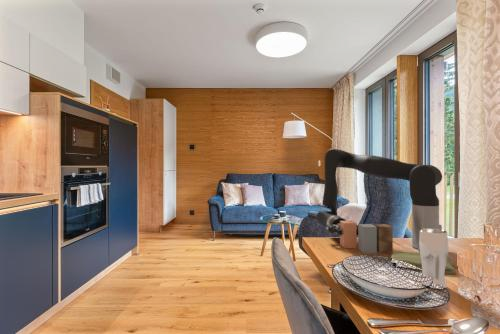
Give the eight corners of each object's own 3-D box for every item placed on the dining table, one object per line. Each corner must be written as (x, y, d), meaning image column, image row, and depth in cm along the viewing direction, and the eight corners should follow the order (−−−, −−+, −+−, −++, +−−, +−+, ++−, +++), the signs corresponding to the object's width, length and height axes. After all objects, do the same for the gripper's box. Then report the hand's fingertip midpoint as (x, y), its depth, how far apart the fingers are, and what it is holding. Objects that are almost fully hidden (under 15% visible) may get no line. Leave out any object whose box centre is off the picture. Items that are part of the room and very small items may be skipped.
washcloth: (391, 256, 103) (391, 247, 103) (449, 264, 94) (449, 254, 94) (389, 267, 91) (389, 257, 91) (456, 277, 83) (456, 267, 83)
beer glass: (439, 280, 80) (438, 228, 80) (454, 291, 73) (454, 233, 73) (413, 279, 81) (413, 227, 81) (426, 290, 74) (426, 233, 74)
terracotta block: (351, 244, 117) (351, 220, 117) (356, 247, 112) (356, 223, 112) (340, 244, 117) (339, 220, 117) (344, 248, 112) (343, 223, 112)
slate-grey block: (371, 249, 110) (370, 224, 110) (376, 253, 105) (376, 226, 105) (358, 249, 110) (358, 224, 110) (363, 253, 105) (363, 226, 105)
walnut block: (386, 249, 110) (386, 223, 110) (392, 253, 105) (392, 226, 105) (373, 249, 110) (373, 224, 110) (379, 253, 105) (379, 226, 105)
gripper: (321, 216, 129) (332, 223, 112) (352, 216, 129) (367, 223, 112) (321, 232, 129) (332, 242, 112) (352, 232, 129) (367, 242, 112)
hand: (350, 232), depth 112 cm, fingers open, 6 cm apart
